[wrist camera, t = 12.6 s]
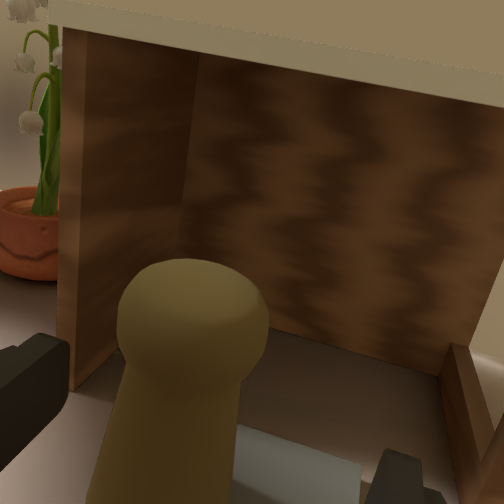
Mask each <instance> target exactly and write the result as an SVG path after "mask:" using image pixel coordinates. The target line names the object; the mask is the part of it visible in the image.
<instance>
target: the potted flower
mask: <svg viewBox="0 0 504 504" xmlns="http://www.w3.org/2000/svg"><path fill="white" fill-rule="evenodd" d="M40 4H41V6H42V7H46V8H47V9H48V0H6V6H7V8H8V9H9V12H10V16H9V17H8V18H7V19H9V20H15V16H16V20H17V22H18V23H26V22H27V19H29V21H31V22H37V21H38V20H37V19H36V16H35V9H36V8H38V7H39V6H40ZM48 28H49V35H47V34H45V33H43V32H42V31H40V30H31V31H29V32H28V33H27V36H26V38H25V43H24V49H23V53H20V54H18V55H17V56H16V58H15V64H16V69H15V71H19V70H20V71H21V72H24V73H27V72H28V71H29V73H35V72H34V65H35V62H34V59H33V58H32V57H31V56H30V55H29V54H27V53H25V50H26V44H27V40H28V38H29V36H30V34H32V33H34V32H35V33H38V34H40V35H41V36H42V37H43V38H45V39H46V40H47V41H48V42H49V73H47V72H44V73H41V74H40V75H39V76H38V77H37V79H36V81H35V83H34V86H33V90H32V95H31V101H30V111H26V112H23V113H22V114H21V115H20V117H19V124H20V127H21V130H20V131H18V132H19V133H24V132H25V131H26V135H31V136H34V134H35V131H36V134H37V135H39V151H40V162H41V174H40V180H39V184H38V186H27V187H17V188H12V189H7V190H3V191H1V192H0V270H1V271H3V272H5V273H8V274H10V275H14V276H17V277H21V278H25V279H30V280H38V281H57V275H58V228H59V180H60V134H61V87H62V46H59V40H58V26H57V25H52V24H48ZM43 77H46V78H48V79H49V83H48V86H47V88H46V91H45V94H44V96H43V99H42V101H41V104H40V107H39V109H38V113H36V112H34V111H31V109H32V103H33V97H34V93H35V90H36V87H37V85H38V83H39V81H40V80H41V79H42V78H43Z"/></svg>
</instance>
